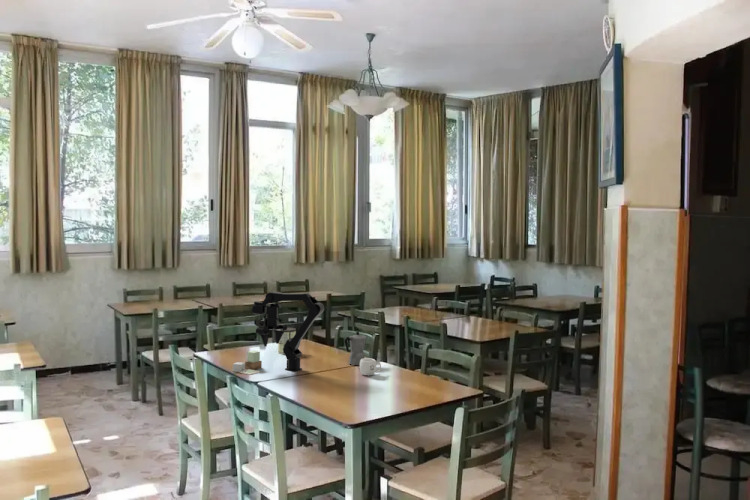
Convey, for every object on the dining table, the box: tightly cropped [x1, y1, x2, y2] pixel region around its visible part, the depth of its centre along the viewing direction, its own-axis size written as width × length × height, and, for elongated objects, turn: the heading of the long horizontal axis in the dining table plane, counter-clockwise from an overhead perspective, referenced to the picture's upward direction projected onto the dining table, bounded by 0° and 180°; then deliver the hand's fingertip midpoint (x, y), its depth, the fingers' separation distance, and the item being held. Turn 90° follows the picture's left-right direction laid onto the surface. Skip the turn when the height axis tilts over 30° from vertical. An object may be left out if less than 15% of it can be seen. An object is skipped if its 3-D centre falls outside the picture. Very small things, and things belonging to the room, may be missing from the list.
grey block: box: [232, 361, 246, 373], centre depth 330 cm, size 4×4×4 cm
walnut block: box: [244, 360, 263, 371], centre depth 336 cm, size 6×6×4 cm
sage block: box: [246, 350, 261, 363], centre depth 336 cm, size 4×4×5 cm
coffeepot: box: [343, 331, 368, 366], centre depth 352 cm, size 15×9×18 cm, turn 129°
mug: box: [359, 357, 382, 376], centre depth 330 cm, size 12×8×8 cm
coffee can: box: [277, 326, 297, 355], centre depth 377 cm, size 10×10×14 cm
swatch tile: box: [239, 369, 260, 376], centre depth 327 cm, size 7×7×1 cm
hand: (271, 344), depth 338 cm, fingers open, 9 cm apart
